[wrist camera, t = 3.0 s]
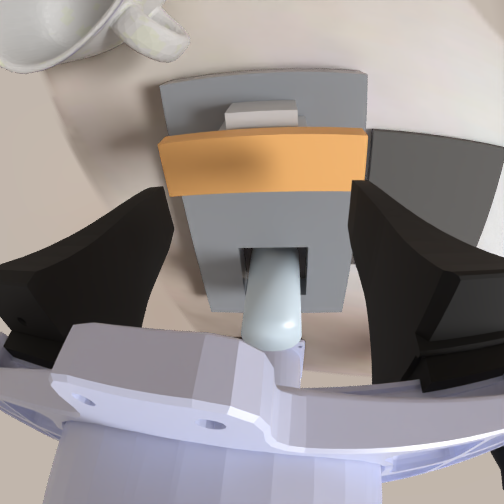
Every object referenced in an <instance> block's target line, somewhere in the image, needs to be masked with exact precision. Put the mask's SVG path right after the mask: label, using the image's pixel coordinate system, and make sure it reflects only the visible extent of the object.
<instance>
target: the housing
mask: <svg viewBox="0 0 504 504" xmlns="http://www.w3.org/2000/svg"><path fill="white" fill-rule="evenodd" d="M367 78H368V75H367V74H365V73H363V72H361V71H355V70H339V69H268V70H251V71H239V72H228V73H219V74H211V75H203V76H196V77H189V78H183V79H177V80H171V81H169V82H166V83H164V84H162V85H160V86H159V87H160V92H161V98H162V103H163V109H164V114H165V119H166V124H167V129H168V135H169V136H174V135H182V134H190V133H200V132H210V131H221V130H233V129H249V128H270V127H348V128H362V129H363V130H364V131H365V132H366V115H367ZM350 196H351V191H288V192H249V193H224V194H204V195H188V196H182V199H183V204H184V208H185V212H186V216H187V220H188V225H189V229H190V233H191V237H192V241H193V245H194V249H195V252H196V256H197V260H198V264H199V268H200V272H201V275H202V279H203V283H204V286H205V290H206V294H207V297H208V301H209V304H210V308H211V312H239V313H244V307H245V299H246V291H247V284H248V279H247V273H246V265H245V258H244V250H243V248H274V247H306V271H305V278H300V295H301V313H320V312H342V308H343V303H344V298H345V293H346V287H347V282H348V276H349V271H350V265H351V259H352V249H351V245H350V239H349V232H348V226H347V225H348V216H349V206H350Z"/></svg>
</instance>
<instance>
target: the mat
mask: <svg viewBox="0 0 504 504" xmlns="http://www.w3.org/2000/svg"><path fill="white" fill-rule="evenodd" d="M503 163H504V147H500V146H496V145H491V144H486V143H481V142H475V141H470V140H464V139H458V138H451V137H444V136H437V135H429V134H421V133H412V132H402V131H390V130H377V129H372V139H371V151H370V163H369V173H368V181H370V182H371V183H373V184H374V185H376V186H377V187H379V188H380V189H381V190H383V191H384V192H385V193H387V194H388V195H389V196H391V197H392V198H393V199H395V200H396V201H397V202H399V203H400V204H401V205H403V206H404V207H405V208H407V209H408V210H410V211H411V212H413V213H414V214H415V215H417V216H418V217H420V218H421V219H423V220H425V221H426V222H428V223H430V224H431V225H433V226H435V227H436V228H438V229H440V230H441V231H443V232H445V233H447V234H449V235H451V236H453V237H455V238H457V239H459V240H461V241H463V242H465V243H467V244H470V245H472V246H474V247H476V246H477V244H478V241H479V239H480V236H481V234H482V231H483V228H484V225H485V223H486V220H487V217H488V214H489V211H490V208H491V205H492V202H493V199H494V195H495V192H496V189H497V185H498V182H499V178H500V174H501V171H502V167H503ZM356 268H357V266H356Z"/></svg>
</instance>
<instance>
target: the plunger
mask: <svg viewBox="0 0 504 504" xmlns="http://www.w3.org/2000/svg"><path fill="white" fill-rule="evenodd" d="M367 145H368V135H367V134H366V132H365V131H364V130H363V129H362V128H348V127H270V128H249V129H233V130H221V131H210V132H200V133H190V134H182V135H174V136H166V137H165V138H164V139H163V140H162V141H161V142H160V143H159V144H158V149H159V154H160V158H161V163H162V167H163V171H164V175H165V179H166V184H167V188H168V192H169V196H170V197H173V196H188V195H204V194H224V193H249V192H288V191H351V185H352V180H364V179H365V169H366V157H367Z"/></svg>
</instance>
